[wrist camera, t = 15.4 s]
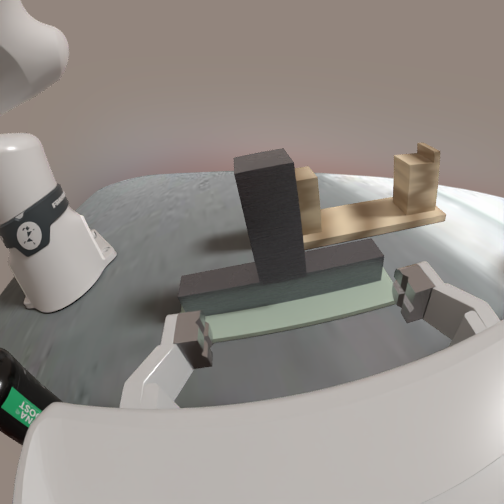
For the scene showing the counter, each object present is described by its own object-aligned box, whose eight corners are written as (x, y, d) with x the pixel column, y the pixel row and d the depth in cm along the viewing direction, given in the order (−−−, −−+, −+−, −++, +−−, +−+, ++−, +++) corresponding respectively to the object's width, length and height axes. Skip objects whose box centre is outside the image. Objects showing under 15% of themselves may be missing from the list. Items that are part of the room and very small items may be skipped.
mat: (178, 347, 24) (176, 343, 24) (187, 283, 32) (185, 280, 31) (401, 301, 23) (402, 298, 23) (367, 247, 31) (367, 244, 30)
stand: (275, 255, 33) (261, 179, 27) (268, 225, 39) (255, 159, 33) (444, 220, 32) (452, 154, 26) (419, 198, 37) (422, 139, 32)
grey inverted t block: (188, 322, 26) (131, 199, 19) (191, 294, 29) (146, 180, 22) (382, 283, 25) (392, 149, 18) (367, 259, 28) (369, 137, 21)
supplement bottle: (83, 437, 17) (-19, 354, 10) (40, 468, 13) (-63, 398, 6) (62, 389, 21) (-15, 306, 14) (24, 419, 17) (-56, 345, 11)
